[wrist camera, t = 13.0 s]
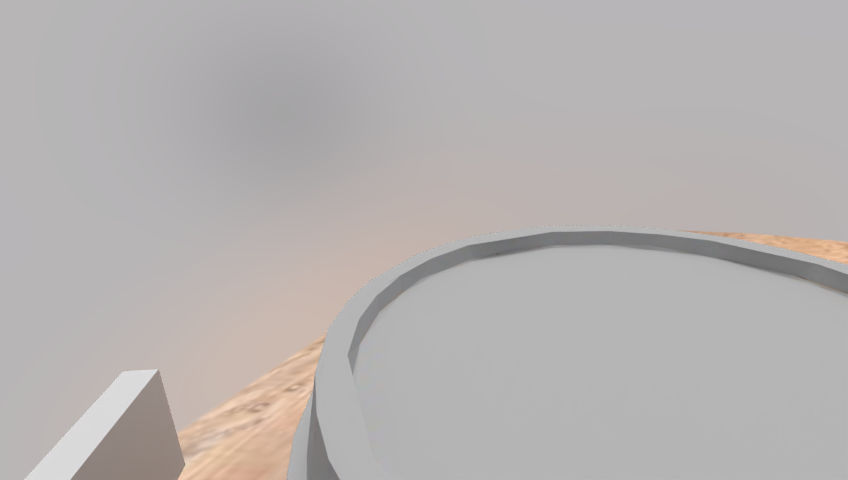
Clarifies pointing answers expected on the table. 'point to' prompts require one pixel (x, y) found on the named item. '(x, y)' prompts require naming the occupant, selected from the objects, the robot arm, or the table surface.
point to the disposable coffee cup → (586, 363)
